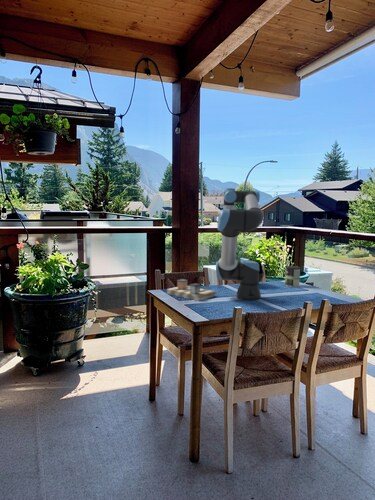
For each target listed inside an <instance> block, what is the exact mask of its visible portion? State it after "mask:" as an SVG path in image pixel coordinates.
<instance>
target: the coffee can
mask: <svg viewBox="0 0 375 500" xmlns="http://www.w3.org/2000/svg"><path fill="white" fill-rule="evenodd" d="M300 277H301V267H300V266H297V265H286V266H285V279H284V286H285V285H286V286H285V287H288V286H290V288H299V287H300V279H301V278H300Z"/></svg>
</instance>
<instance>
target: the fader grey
mask: <svg viewBox="0 0 375 500" xmlns="http://www.w3.org/2000/svg"><path fill="white" fill-rule="evenodd" d="M188 286H190V293H193V294H197V293H200V288H201V284H200V283H196V282H195V283H190V284H189V285H188Z"/></svg>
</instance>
